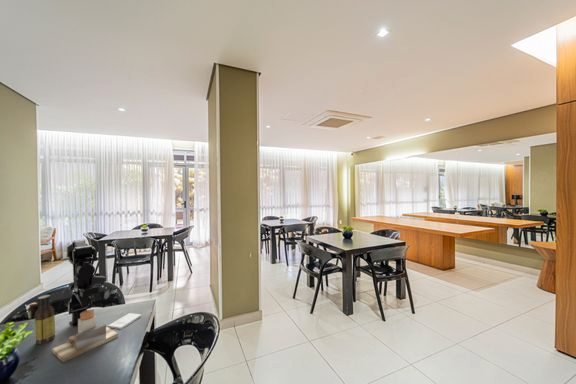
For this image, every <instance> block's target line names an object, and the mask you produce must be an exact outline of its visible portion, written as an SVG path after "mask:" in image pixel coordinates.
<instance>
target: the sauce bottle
mask: <svg viewBox="0 0 576 384" xmlns="http://www.w3.org/2000/svg"><path fill="white" fill-rule="evenodd" d="M51 298H52V297H51V295H50V294H45V295H42V296H41V295H40V296H38V297H37V303H38V307H37V308H38V309H37V310H36V311H35V313H34V335H35V338H34V339H35V343H36V345H42V344H46V343H48V342H50V341H53V340H54V339H55V337H56V322H55V321H56V317H55V309H54V306H51V305H52V304H51Z"/></svg>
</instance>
